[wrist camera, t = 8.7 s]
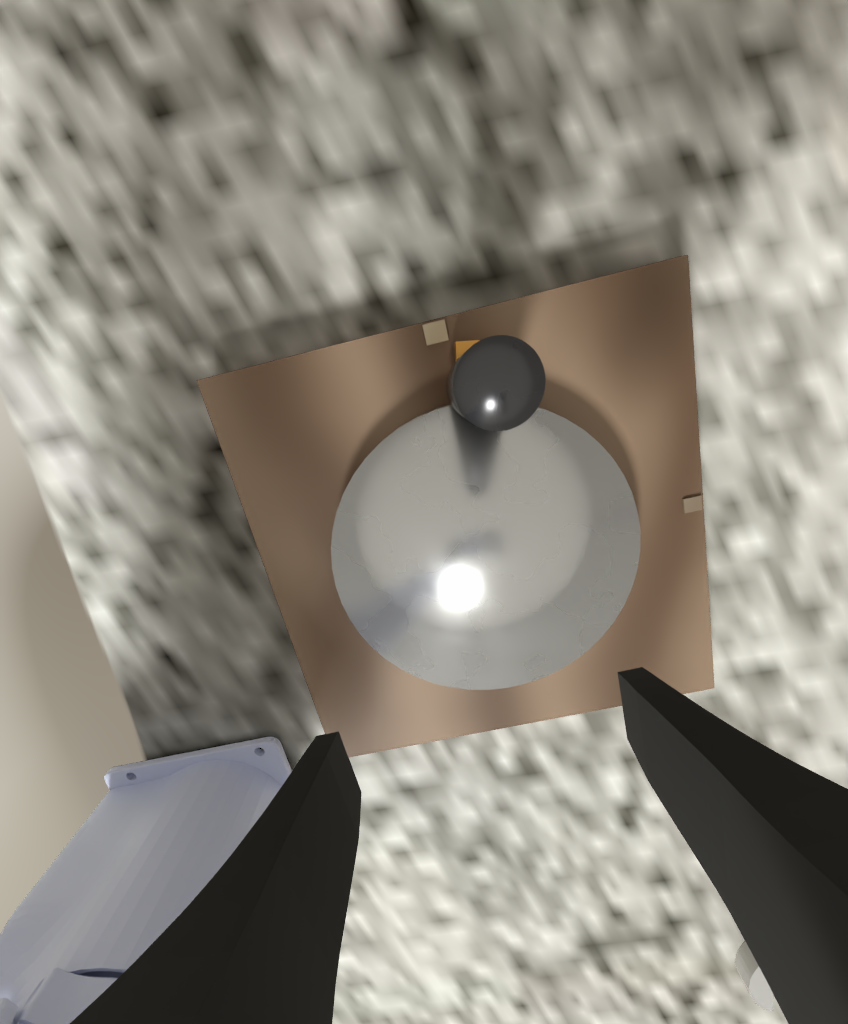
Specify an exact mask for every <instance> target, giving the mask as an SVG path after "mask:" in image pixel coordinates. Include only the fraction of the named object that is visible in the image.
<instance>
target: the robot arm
mask: <svg viewBox="0 0 848 1024" xmlns="http://www.w3.org/2000/svg"><path fill="white" fill-rule="evenodd" d="M617 673H618V680H619V686H620V693H621V699H622V706H623V712H624V719H625V726H626V732H627V739H628V741H629V743H630V745H631V747H632V749H633V751H634V753H635V755H636V757H637V759H638V761H639V763H640V765H641V767H642V769H643V771H644V773H645V775H646V777H647V779H648V781H649V783H650V784H651V786H652V788H653V789H654V791H655V792H656V794H657V796H658V797H659V799H660V800H661V802H662V804H663V805H664V807H665V808H666V810H667V812H668V813H669V815H670V816H671V818H672V820H673V821H674V823H675V824H676V826H677V828H678V829H679V831H680V832H681V834H682V835H683V837H684V839H685V840H686V842H687V843H688V845H689V847H690V848H691V850H692V851H693V853H694V854H695V856H696V858H697V859H698V861H699V862H700V864H701V866H702V867H703V869H704V870H705V872H706V873H707V875H708V877H709V878H710V880H711V881H712V883H713V885H714V886H715V888H716V889H717V891H718V893H719V895H720V896H721V898H722V900H723V901H724V903H725V905H726V906H727V908H728V910H729V912H730V913H731V915H732V917H733V919H734V921H735V923H736V924H737V926H738V928H739V930H740V932H741V934H742V936H743V938H744V939H745V941H746V943H747V945H748V947H749V949H750V951H751V953H752V954H753V956H754V958H755V960H756V962H757V964H758V966H759V968H760V969H761V971H762V973H763V975H764V977H765V979H766V981H767V983H768V985H769V987H770V989H771V990H772V992H773V994H774V996H775V998H776V1000H777V1002H778V1004H779V1006H780V1008H781V1010H782V1012H783V1014H784V1015H785V1017H786V1019H787V1021H788V1023H789V1024H848V789H847V788H844V787H842V786H840V785H838V784H836V783H834V782H832V781H830V780H828V779H826V778H824V777H822V776H820V775H818V774H816V773H814V772H812V771H810V770H809V769H807V768H805V767H803V766H801V765H799V764H797V763H795V762H793V761H791V760H789V759H787V758H786V757H784V756H782V755H780V754H778V753H776V752H775V751H773V750H771V749H769V748H768V747H766V746H764V745H762V744H761V743H759V742H757V741H756V740H754V739H752V738H750V737H749V736H747V735H745V734H744V733H742V732H740V731H739V730H737V729H735V728H734V727H732V726H731V725H729V724H727V723H726V722H724V721H723V720H721V719H720V718H718V717H716V716H715V715H713V714H712V713H710V712H708V711H707V710H705V709H704V708H702V707H701V706H699V705H698V704H696V703H695V702H693V701H692V700H690V699H689V698H687V697H686V696H684V695H683V694H681V693H680V692H678V691H677V690H675V689H674V688H672V687H671V686H670V685H668V684H667V683H665V682H664V681H662V680H661V679H659V678H658V677H656V676H655V675H654V674H652V673H651V672H649V671H648V670H646V669H645V668H643V667H640V668H635V669H630V670H625V671H621V672H617ZM259 748H262V749H264V750H261V749H259ZM104 779H105V782H106V784H107V786H108V787H109V789H110V791H109V792H108V793H107V795H106V796H105V797H104V798H103V800H102V801H101V802H100V803H99V805H98V806H97V807H96V809H95V810H94V811H93V812H92V814H91V815H90V816H89V817H88V819H87V820H86V821H85V822H84V824H83V825H82V827H81V828H80V829H79V830H78V831H77V833H76V834H75V835H74V836H73V838H72V839H71V840H70V842H69V843H68V844H67V845H66V847H65V848H64V849H63V850H62V852H61V853H60V854H59V855H58V857H57V858H56V859H55V861H54V862H53V863H52V864H51V866H50V867H49V868H48V870H47V871H46V872H45V873H44V875H43V876H42V877H41V878H40V880H39V881H38V882H37V883H36V885H35V886H34V887H33V888H32V890H31V891H30V892H29V894H28V895H27V896H26V897H25V899H24V900H23V901H22V902H21V904H20V905H19V906H18V907H17V909H16V910H15V912H14V913H13V915H12V916H11V917H10V919H9V920H8V922H7V923H6V925H5V927H4V929H3V931H2V932H1V934H0V1024H332V1017H333V1006H334V995H335V984H336V976H337V969H338V961H339V954H340V948H341V942H342V936H343V930H344V924H345V918H346V912H347V906H348V901H349V895H350V889H351V883H352V877H353V871H354V865H355V858H356V852H357V846H358V839H359V826H360V809H361V790H360V788H359V785H358V782H357V779H356V777H355V774H354V771H353V769H352V766H351V763H350V761H349V758H348V755H347V752H346V750H345V747H344V744H343V742H342V739H341V736H340V733H339V731H338V732H334V733H329V734H324V735H319V736H316V737H315V739H314V740H313V742H312V743H311V744H310V746H309V747H308V749H307V750H306V752H305V753H304V755H303V756H302V757H301V759H300V760H299V762H298V763H297V765H296V766H295V768H294V769H293V771H292V770H291V767H290V765H289V762H288V760H287V757H286V755H285V752H284V750H283V747H282V745H281V742H280V741H279V740H278V739H277V738H275V737H264V738H259V739H254V740H249V741H244V742H239V743H234V744H229V745H223V746H218V747H213V748H208V749H203V750H198V751H193V752H188V753H182V754H177V755H172V756H167V757H162V758H157V759H152V760H147V761H141V762H136V763H131V764H126V765H121V766H116V767H112V768H111V769H110V770H109V771H108V772H107V773H106V774H105V777H104Z"/></svg>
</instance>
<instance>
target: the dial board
mask: <svg viewBox="0 0 848 1024" xmlns="http://www.w3.org/2000/svg"><path fill="white" fill-rule="evenodd" d="M495 335H508V336H513V337H516V338H519V339H521V340H523V341H524V342H526V343H527V344H529V345H530V346H531V347H532V348H533V349H534V350H535V351H536V353H537V354H538V356H539V357H540V359H541V361H542V364H543V367H544V371H545V379H546V383H545V391H544V395H543V398H542V401H541V403H540V405H539V407H538V408H542V409H545V410H548V411H550V412H552V413H555V414H557V415H559V416H561V417H564V418H566V419H568V420H569V421H571V422H572V423H574V424H576V425H577V426H579V427H580V428H582V429H584V430H585V431H586V432H587V433H588V434H590V435H591V436H592V437H593V438H594V439H595V440H597V441H598V442H599V443H600V444H601V445H602V446H603V447H604V448H605V450H606V451H607V452H608V453H609V454H610V455H611V456H612V458H613V459H614V460H615V462H616V463H617V465H618V467H619V468H620V470H621V471H622V473H623V474H624V476H625V478H626V480H627V483H628V485H629V487H630V489H631V491H632V494H633V497H634V500H635V504H636V507H637V511H638V517H639V524H640V556H639V563H638V569H637V573H636V576H635V580H634V583H633V586H632V589H631V591H630V594H629V596H628V598H627V600H626V603H625V605H624V606H623V608H622V610H621V611H620V613H619V615H618V616H617V618H616V620H615V621H614V622H613V624H612V625H611V626H610V628H609V629H608V630H607V631H606V633H605V634H604V635H603V636H602V637H601V638H600V639H599V640H598V641H597V642H596V643H595V644H594V645H593V646H592V647H591V648H590V649H589V650H588V651H586V652H585V653H584V654H583V655H581V656H580V657H579V658H577V659H576V660H575V661H573V662H572V663H570V664H568V665H567V666H565V667H563V668H562V669H560V670H558V671H556V672H554V673H552V674H550V675H548V676H546V677H543V678H541V679H538V680H535V681H532V682H529V683H526V684H522V685H518V686H513V687H509V688H501V689H492V690H468V689H459V688H451V687H447V686H443V685H438V684H434V683H431V682H429V681H426V680H423V679H420V678H417V677H415V676H413V675H411V674H409V673H407V672H405V671H403V670H401V669H400V668H398V667H397V666H395V665H394V664H392V663H391V662H389V661H388V660H386V659H385V658H384V657H383V656H381V655H380V654H379V653H378V652H377V651H376V650H374V649H373V648H372V647H371V646H370V645H369V644H368V642H367V641H366V640H365V639H364V638H363V637H362V636H361V635H360V633H359V632H358V631H357V629H356V628H355V626H354V625H353V623H352V622H351V620H350V619H349V617H348V615H347V613H346V611H345V609H344V607H343V605H342V603H341V600H340V597H339V594H338V592H337V589H336V586H335V581H334V576H333V571H332V560H331V541H332V530H333V525H334V521H335V516H336V512H337V509H338V506H339V504H340V501H341V498H342V496H343V493H344V491H345V489H346V487H347V485H348V484H349V482H350V480H351V478H352V476H353V474H354V473H355V472H356V470H357V469H358V468H359V466H360V465H361V464H362V462H363V461H364V460H365V458H366V457H367V456H368V455H369V454H370V453H371V452H372V451H373V450H374V448H375V447H376V446H377V445H378V444H379V443H380V442H381V441H382V440H383V439H384V438H386V437H387V436H388V435H390V434H391V433H392V432H393V431H395V430H396V429H397V428H399V427H400V426H402V425H403V424H405V423H407V422H408V421H410V420H412V419H414V418H415V417H417V416H419V415H422V414H424V413H426V412H429V411H431V410H434V409H436V408H439V407H443V406H447V405H450V402H449V399H448V396H447V392H446V381H447V376H448V373H449V371H450V369H451V367H452V365H453V364H454V363H455V350H454V344H455V342H457V341H472V340H482V339H484V338H487V337H490V336H495ZM197 383H198V386H199V388H200V391H201V394H202V397H203V399H204V402H205V405H206V408H207V410H208V413H209V416H210V419H211V421H212V424H213V427H214V430H215V432H216V435H217V438H218V441H219V443H220V446H221V449H222V452H223V454H224V457H225V460H226V463H227V465H228V468H229V471H230V474H231V476H232V479H233V482H234V485H235V487H236V490H237V493H238V496H239V498H240V501H241V504H242V507H243V509H244V512H245V515H246V518H247V520H248V523H249V526H250V529H251V531H252V534H253V537H254V540H255V542H256V545H257V548H258V551H259V553H260V556H261V559H262V562H263V564H264V567H265V570H266V573H267V575H268V578H269V581H270V584H271V586H272V589H273V592H274V595H275V597H276V600H277V603H278V606H279V608H280V611H281V614H282V617H283V619H284V622H285V625H286V628H287V630H288V633H289V636H290V639H291V641H292V644H293V647H294V650H295V652H296V655H297V658H298V661H299V663H300V666H301V669H302V672H303V674H304V677H305V680H306V683H307V685H308V688H309V691H310V694H311V696H312V699H313V702H314V704H315V707H316V710H317V713H318V715H319V718H320V721H321V724H322V726H323V729H324V732H325V734H329V733H334V732H338V731H339V733H340V736H341V739H342V742H343V744H344V747H345V750H346V752H347V755H348V757H353V756H358V755H364V754H369V753H374V752H379V751H385V750H390V749H395V748H400V747H406V746H411V745H416V744H422V743H427V742H432V741H437V740H443V739H448V738H453V737H459V736H464V735H469V734H474V733H480V732H485V731H490V730H496V729H501V728H506V727H511V726H517V725H522V724H527V723H533V722H538V721H543V720H548V719H554V718H559V717H564V716H569V715H575V714H580V713H585V712H591V711H596V710H601V709H606V708H612V707H617V706H622V699H621V693H620V686H619V680H618V673H617V672H621V671H625V670H630V669H635V668H640V667H643V668H645V669H646V670H648V671H649V672H651V673H652V674H654V675H655V676H656V677H658V678H659V679H661V680H662V681H664V682H665V683H667V684H668V685H670V686H671V687H672V688H674V689H675V690H677V691H678V692H680V693H681V694H686V693H691V692H696V691H702V690H707V689H712V688H714V673H713V656H712V640H711V624H710V607H709V591H708V574H707V558H706V542H705V525H704V509H703V493H702V476H701V460H700V443H699V427H698V411H697V394H696V378H695V361H694V345H693V329H692V312H691V296H690V280H689V263H688V255H684V256H680V257H676V258H672V259H668V260H665V261H661V262H657V263H653V264H649V265H645V266H641V267H637V268H633V269H629V270H625V271H622V272H618V273H614V274H610V275H606V276H602V277H598V278H594V279H590V280H586V281H583V282H579V283H575V284H571V285H567V286H563V287H559V288H555V289H551V290H547V291H544V292H540V293H536V294H532V295H528V296H524V297H520V298H516V299H512V300H508V301H505V302H501V303H497V304H493V305H489V306H485V307H481V308H477V309H473V310H469V311H466V312H462V313H458V314H454V315H450V316H446V317H442V318H438V319H434V320H430V321H427V322H423V323H419V324H415V325H411V326H407V327H403V328H399V329H395V330H391V331H387V332H384V333H380V334H376V335H372V336H368V337H364V338H360V339H356V340H352V341H348V342H345V343H341V344H337V345H333V346H329V347H325V348H321V349H317V350H313V351H309V352H306V353H302V354H298V355H294V356H290V357H286V358H282V359H278V360H274V361H270V362H267V363H263V364H259V365H255V366H251V367H247V368H243V369H239V370H235V371H231V372H228V373H224V374H220V375H216V376H212V377H208V378H204V379H200V380H197Z"/></svg>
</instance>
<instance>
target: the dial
mask: <svg viewBox="0 0 848 1024" xmlns="http://www.w3.org/2000/svg"><path fill="white" fill-rule="evenodd" d="M454 350H455V363H454V364H453V365H452V367H451V369H450V371H449V373H448V376H447V381H446V392H447V396H448V399H449V402H450V405H447V406H443V407H439V408H436V409H434V410H431V411H429V412H426V413H424V414H422V415H419V416H417V417H415V418H414V419H412V420H410V421H408V422H407V423H405V424H403V425H402V426H400V427H399V428H397V429H396V430H395V431H393V432H392V433H391V434H390V435H388V436H387V437H386V438H384V439H383V440H382V441H381V442H380V443H379V444H378V445H377V446H376V447H375V448H374V450H373V451H372V452H371V453H370V454H369V455H368V456H367V457H366V458H365V460H364V461H363V462H362V464H361V465H360V466H359V468H358V469H357V470H356V472H355V473H354V474H353V476H352V478H351V480H350V482H349V484H348V485H347V487H346V489H345V491H344V493H343V496H342V498H341V501H340V504H339V506H338V509H337V512H336V516H335V521H334V525H333V530H332V541H331V560H332V571H333V576H334V581H335V586H336V589H337V592H338V594H339V597H340V600H341V603H342V605H343V607H344V609H345V611H346V613H347V615H348V617H349V619H350V620H351V622H352V623H353V625H354V626H355V628H356V629H357V631H358V632H359V633H360V635H361V636H362V637H363V638H364V639H365V640H366V641H367V642H368V644H369V645H370V646H371V647H372V648H373V649H374V650H376V651H377V652H378V653H379V654H380V655H381V656H383V657H384V658H385V659H386V660H388V661H389V662H391V663H392V664H394V665H395V666H397V667H398V668H400V669H401V670H403V671H405V672H407V673H409V674H411V675H413V676H415V677H417V678H420V679H423V680H426V681H429V682H431V683H434V684H438V685H443V686H447V687H451V688H459V689H468V690H492V689H501V688H509V687H513V686H518V685H522V684H526V683H529V682H532V681H535V680H538V679H541V678H543V677H546V676H548V675H550V674H552V673H554V672H556V671H558V670H560V669H562V668H563V667H565V666H567V665H568V664H570V663H572V662H573V661H575V660H576V659H577V658H579V657H580V656H581V655H583V654H584V653H585V652H586V651H588V650H589V649H590V648H591V647H592V646H593V645H594V644H595V643H596V642H597V641H598V640H599V639H600V638H601V637H602V636H603V635H604V634H605V633H606V631H607V630H608V629H609V628H610V626H611V625H612V624H613V622H614V621H615V620H616V618H617V616H618V615H619V613H620V611H621V610H622V608H623V606H624V605H625V603H626V600H627V598H628V596H629V594H630V591H631V589H632V586H633V583H634V580H635V576H636V573H637V569H638V563H639V556H640V524H639V517H638V511H637V507H636V504H635V500H634V497H633V494H632V491H631V489H630V487H629V485H628V483H627V480H626V478H625V476H624V474H623V473H622V471H621V470H620V468H619V467H618V465H617V463H616V462H615V460H614V459H613V458H612V456H611V455H610V454H609V453H608V452H607V451H606V450H605V448H604V447H603V446H602V445H601V444H600V443H599V442H598V441H597V440H595V439H594V438H593V437H592V436H591V435H590V434H588V433H587V432H586V431H585V430H584V429H582V428H580V427H579V426H577V425H576V424H574V423H572V422H571V421H569V420H568V419H566V418H564V417H561V416H559V415H557V414H555V413H552V412H550V411H548V410H545V409H542V408H538V407H539V405H540V403H541V401H542V398H543V395H544V391H545V383H546V379H545V371H544V367H543V364H542V361H541V359H540V357H539V356H538V354H537V353H536V351H535V350H534V349H533V348H532V347H531V346H530V345H529V344H527V343H526V342H524V341H523V340H521V339H519V338H516V337H513V336H508V335H495V336H490V337H487V338H484V339H482V340H472V341H457V342H455V344H454Z"/></svg>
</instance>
